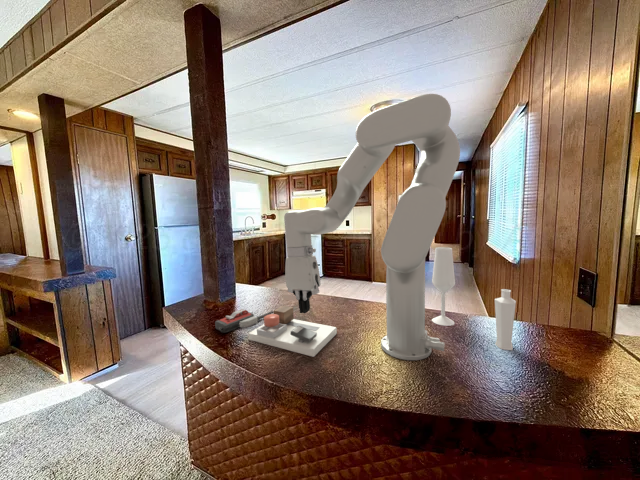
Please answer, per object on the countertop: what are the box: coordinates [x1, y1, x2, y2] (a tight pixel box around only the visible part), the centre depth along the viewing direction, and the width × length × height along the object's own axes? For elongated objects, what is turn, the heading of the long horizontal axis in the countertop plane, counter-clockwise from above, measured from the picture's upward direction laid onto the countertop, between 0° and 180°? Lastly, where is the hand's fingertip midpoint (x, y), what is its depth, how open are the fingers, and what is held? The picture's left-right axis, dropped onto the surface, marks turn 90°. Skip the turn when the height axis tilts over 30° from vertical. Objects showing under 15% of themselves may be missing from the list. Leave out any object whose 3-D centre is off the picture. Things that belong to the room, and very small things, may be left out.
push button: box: [263, 313, 279, 327], centre depth 74 cm, size 4×4×2 cm
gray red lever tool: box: [214, 308, 274, 333], centre depth 88 cm, size 9×4×20 cm
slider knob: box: [273, 305, 295, 324], centre depth 81 cm, size 4×5×4 cm
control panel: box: [248, 318, 338, 357], centre depth 75 cm, size 22×14×4 cm, turn 62°
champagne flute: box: [431, 246, 456, 327], centre depth 81 cm, size 7×7×24 cm
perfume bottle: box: [494, 288, 517, 351], centre depth 65 cm, size 5×4×15 cm
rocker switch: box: [290, 326, 317, 342], centre depth 69 cm, size 6×4×1 cm, turn 62°
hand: (304, 311), depth 77 cm, fingers closed
